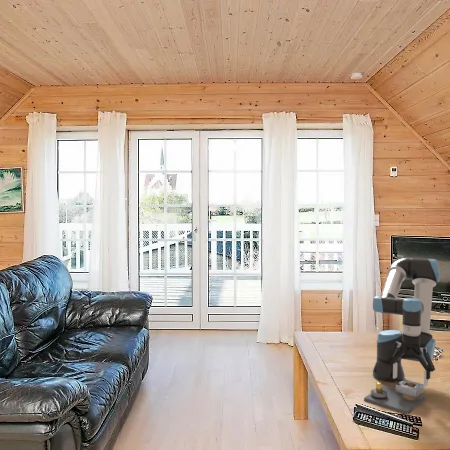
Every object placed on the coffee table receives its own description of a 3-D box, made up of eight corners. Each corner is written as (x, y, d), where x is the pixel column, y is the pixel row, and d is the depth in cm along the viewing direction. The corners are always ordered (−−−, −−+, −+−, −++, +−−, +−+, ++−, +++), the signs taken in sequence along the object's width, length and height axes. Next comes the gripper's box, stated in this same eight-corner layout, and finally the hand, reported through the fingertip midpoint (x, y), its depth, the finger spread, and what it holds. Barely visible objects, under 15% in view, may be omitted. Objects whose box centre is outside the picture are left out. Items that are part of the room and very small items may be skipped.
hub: (375, 391, 208) (375, 378, 208) (390, 396, 203) (390, 383, 203) (367, 396, 203) (368, 383, 203) (382, 401, 198) (383, 387, 198)
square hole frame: (404, 385, 208) (404, 379, 208) (424, 391, 201) (424, 384, 201) (395, 391, 201) (395, 384, 201) (416, 397, 195) (416, 390, 195)
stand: (405, 394, 206) (406, 378, 205) (419, 398, 201) (419, 382, 201) (400, 398, 201) (400, 382, 201) (413, 402, 197) (414, 386, 197)
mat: (384, 387, 216) (384, 385, 216) (425, 399, 203) (425, 397, 203) (364, 400, 202) (364, 397, 202) (406, 414, 188) (406, 411, 188)
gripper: (380, 330, 206) (379, 376, 207) (437, 341, 189) (436, 392, 189) (387, 327, 212) (386, 372, 212) (444, 338, 194) (442, 387, 195)
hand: (410, 381), depth 201 cm, fingers open, 13 cm apart
